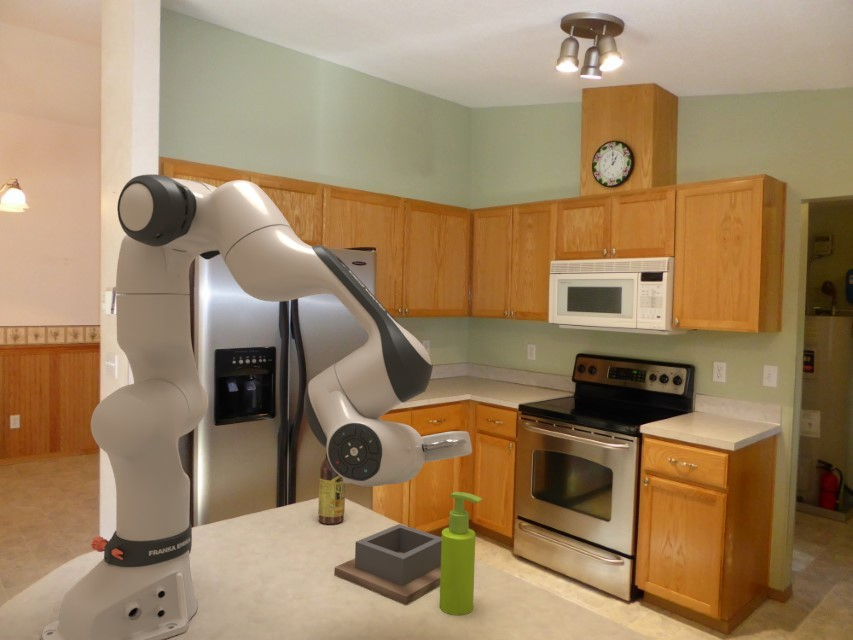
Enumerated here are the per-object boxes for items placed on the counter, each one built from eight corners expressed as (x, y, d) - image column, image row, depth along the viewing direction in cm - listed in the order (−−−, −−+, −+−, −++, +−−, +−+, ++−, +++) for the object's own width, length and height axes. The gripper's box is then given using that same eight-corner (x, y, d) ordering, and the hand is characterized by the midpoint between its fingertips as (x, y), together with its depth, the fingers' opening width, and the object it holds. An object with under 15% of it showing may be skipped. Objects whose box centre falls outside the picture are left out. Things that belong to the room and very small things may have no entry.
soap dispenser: (468, 620, 101) (472, 502, 100) (433, 608, 105) (436, 494, 104) (484, 606, 106) (487, 493, 105) (450, 595, 110) (453, 486, 109)
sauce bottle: (339, 526, 142) (341, 442, 142) (314, 524, 143) (316, 440, 143) (348, 517, 148) (350, 437, 148) (324, 514, 150) (326, 435, 149)
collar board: (406, 605, 105) (407, 568, 105) (334, 574, 116) (335, 541, 116) (463, 571, 120) (464, 538, 120) (395, 547, 131) (395, 517, 131)
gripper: (458, 418, 88) (475, 424, 101) (329, 443, 92) (362, 445, 105) (465, 462, 86) (482, 462, 99) (334, 485, 90) (366, 482, 103)
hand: (419, 453), depth 102 cm, fingers open, 8 cm apart
